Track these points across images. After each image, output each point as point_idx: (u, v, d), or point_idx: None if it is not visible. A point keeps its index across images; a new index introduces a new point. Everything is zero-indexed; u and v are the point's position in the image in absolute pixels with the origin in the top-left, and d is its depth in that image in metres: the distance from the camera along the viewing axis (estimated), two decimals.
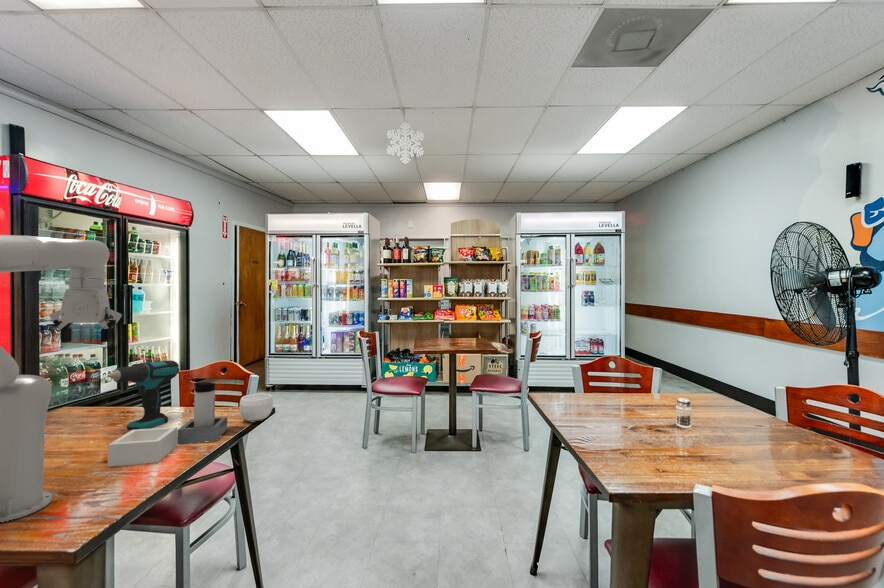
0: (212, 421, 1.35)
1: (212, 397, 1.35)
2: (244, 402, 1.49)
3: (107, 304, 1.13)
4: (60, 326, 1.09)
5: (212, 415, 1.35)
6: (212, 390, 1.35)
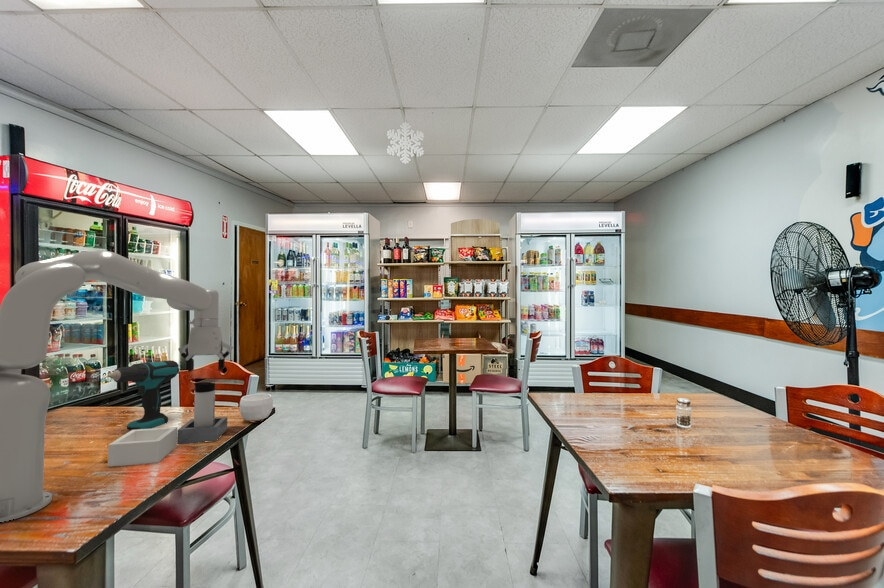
0: (212, 421, 1.35)
1: (212, 397, 1.35)
2: (244, 402, 1.49)
3: (221, 338, 1.37)
4: (187, 358, 1.33)
5: (212, 415, 1.35)
6: (212, 390, 1.35)
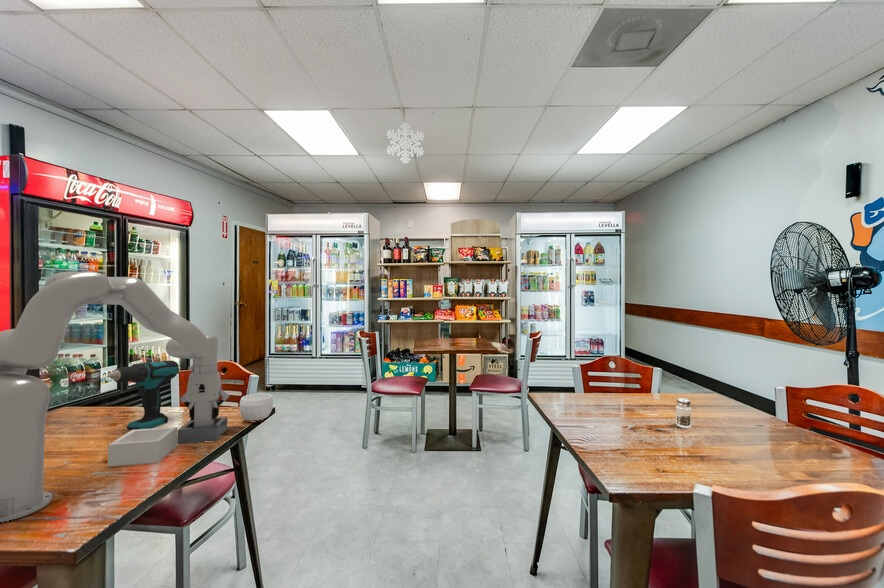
0: (212, 421, 1.35)
1: None
2: (244, 402, 1.49)
3: (220, 384, 1.37)
4: (189, 407, 1.33)
5: None
6: None
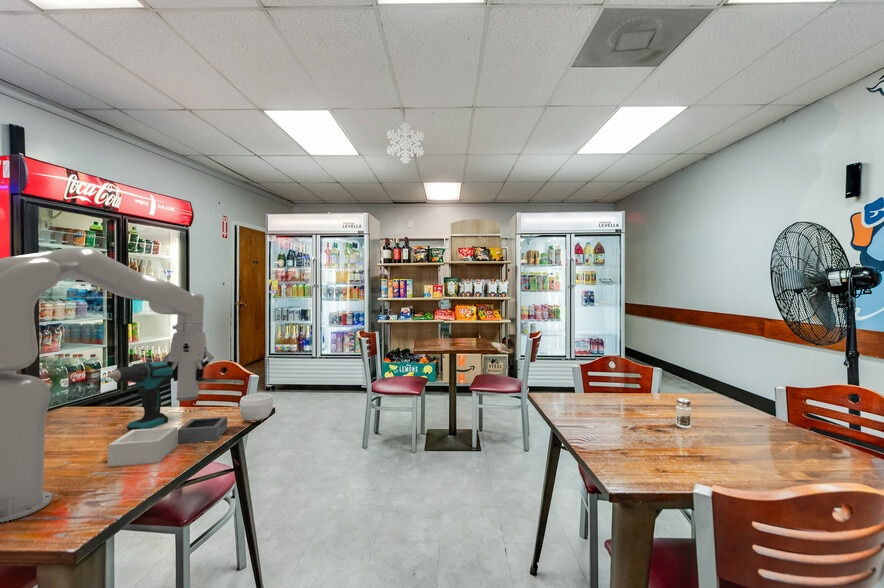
0: (196, 382, 1.30)
1: None
2: (244, 402, 1.49)
3: (205, 345, 1.32)
4: (173, 367, 1.28)
5: None
6: None
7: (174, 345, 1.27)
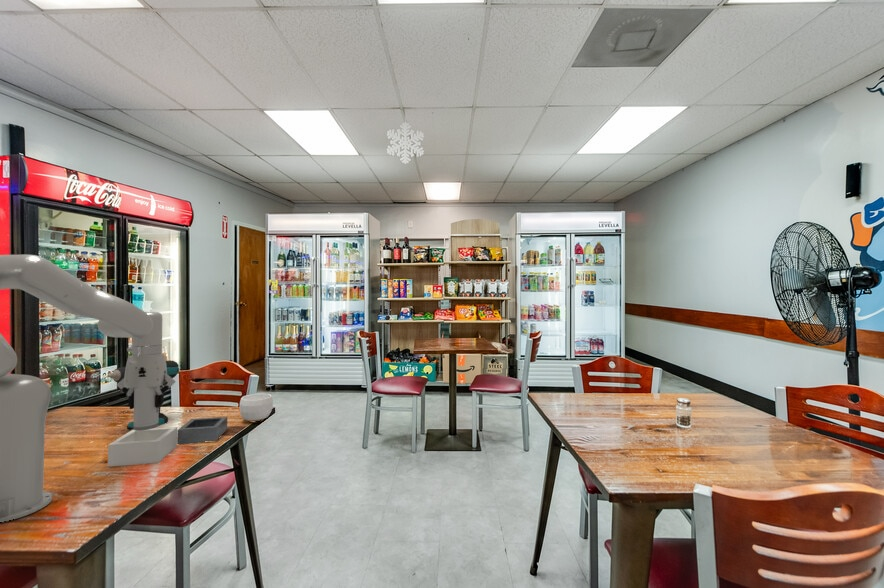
0: (155, 409, 1.19)
1: None
2: (244, 402, 1.49)
3: (165, 368, 1.21)
4: (128, 393, 1.17)
5: None
6: None
7: (129, 370, 1.15)
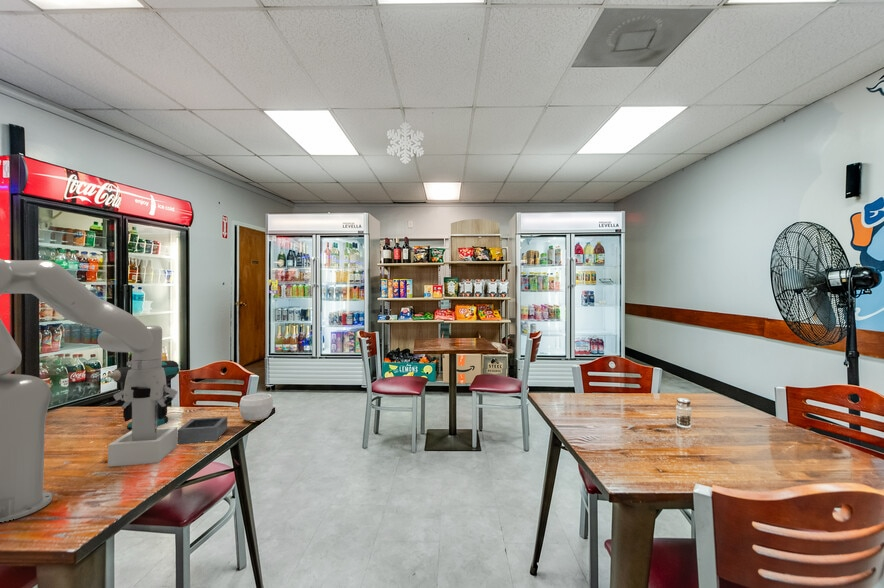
0: (153, 430, 1.18)
1: (153, 403, 1.18)
2: (244, 402, 1.49)
3: (165, 381, 1.21)
4: (123, 406, 1.16)
5: (153, 423, 1.18)
6: None
7: (128, 384, 1.15)
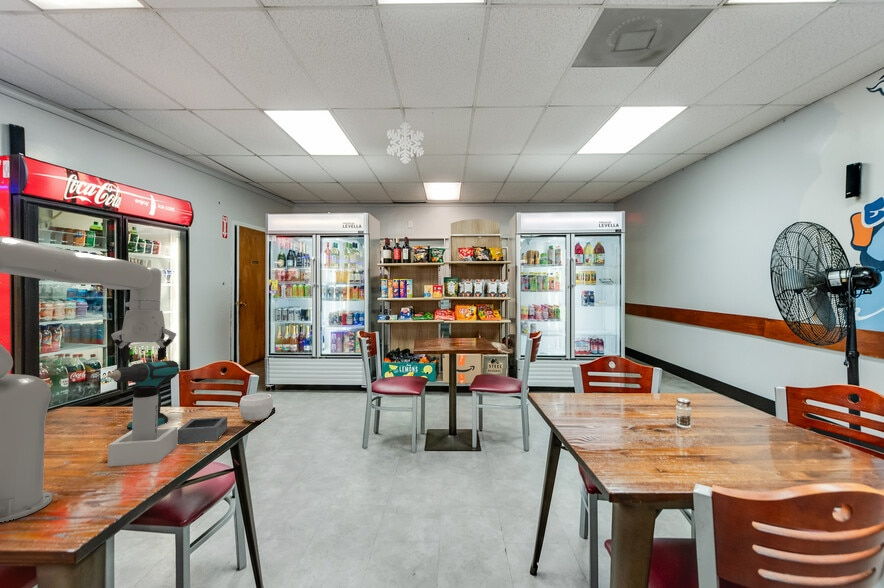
0: (154, 430, 1.18)
1: (154, 403, 1.18)
2: (244, 402, 1.49)
3: (163, 324, 1.20)
4: (121, 345, 1.16)
5: (154, 423, 1.18)
6: (153, 395, 1.18)
7: (126, 324, 1.15)
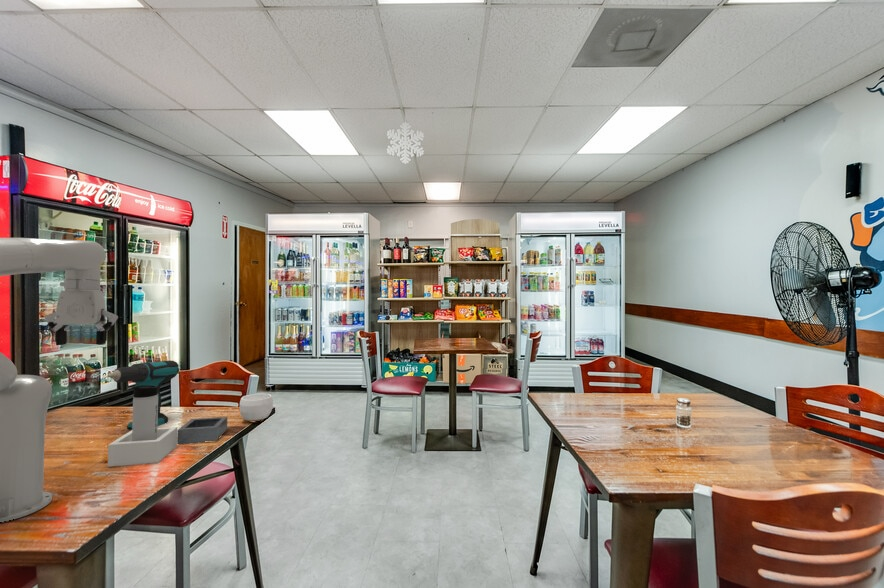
0: (154, 430, 1.18)
1: (154, 403, 1.18)
2: (244, 402, 1.49)
3: (103, 306, 1.12)
4: (55, 328, 1.07)
5: (154, 423, 1.18)
6: (153, 395, 1.18)
7: (61, 305, 1.06)
